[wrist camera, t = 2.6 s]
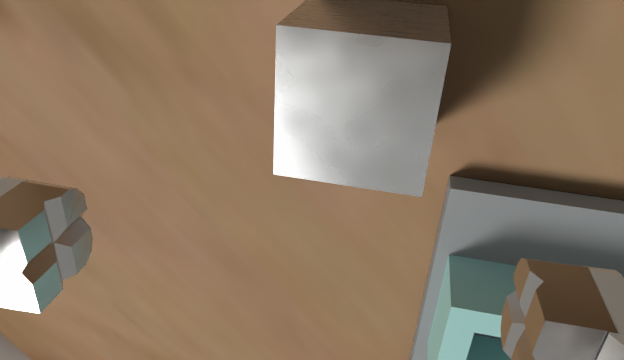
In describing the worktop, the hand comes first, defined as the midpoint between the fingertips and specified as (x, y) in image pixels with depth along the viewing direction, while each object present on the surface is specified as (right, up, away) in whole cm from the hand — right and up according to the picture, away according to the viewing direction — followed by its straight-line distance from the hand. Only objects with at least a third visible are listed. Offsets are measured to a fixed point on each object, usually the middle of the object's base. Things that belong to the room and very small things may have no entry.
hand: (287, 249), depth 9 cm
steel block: (+3, +5, +9) cm, 11 cm away
